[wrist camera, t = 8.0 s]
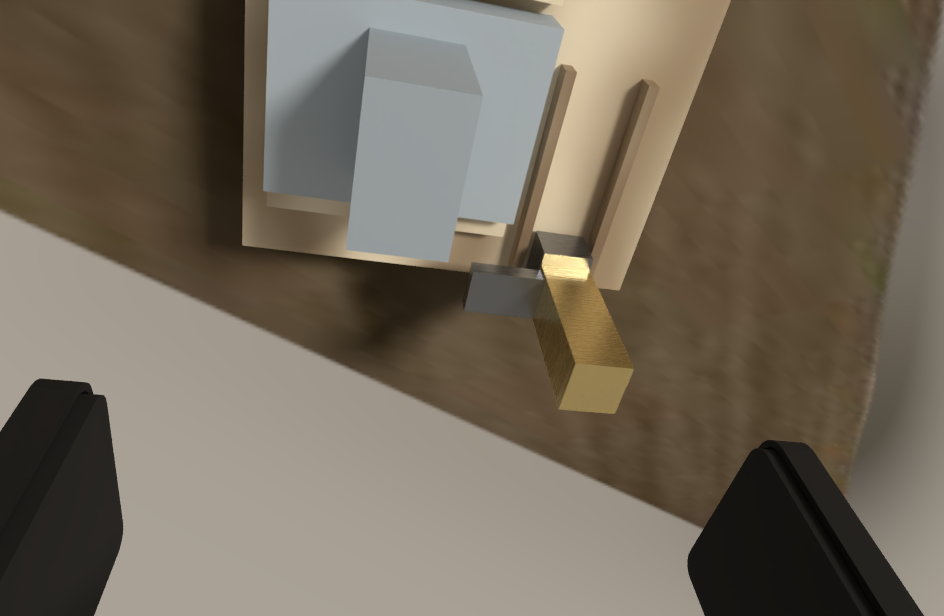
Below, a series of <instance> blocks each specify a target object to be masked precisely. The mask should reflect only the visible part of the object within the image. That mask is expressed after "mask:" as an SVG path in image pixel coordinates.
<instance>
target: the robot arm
mask: <svg viewBox="0 0 944 616" xmlns="http://www.w3.org/2000/svg"><path fill="white" fill-rule="evenodd" d="M122 535H123V520H122V513H121V505H120V497H119V490H118V483H117V475H116V468H115V461H114V453H113V446H112V438H111V430H110V423H109V415H108V408H107V402H106V398H105V397H104V395H94V394H93V392H92V388H91V386H90V384H89V383H85V382H74V381H63V380H50V379H38V380H36V381H35V382H34V383H33V384H32V385H31V386H30V388H29V389H28V391H27V392H26V394H25V395H24V397H23V398H22V400H21V401H20V403H19V404H18V406H17V407H16V409H15V410H14V412H13V413H12V415H11V417H10V418H9V419H8V421H7V422H6V424H5V425H4V427H3V428H2V430H1V431H0V616H94V614H95V612H96V609H97V606H98V604H99V601H100V599H101V596H102V594H103V591H104V588H105V586H106V583H107V580H108V578H109V575H110V573H111V570H112V568H113V565H114V562H115V560H116V557H117V555H118V552H119V549H120V545H121V541H122ZM688 572H689V576H690V579H691V581H692V584H693V587H694V589H695V592H696V594H697V597H698V599H699V602H700V605H701V607H702V610H703V612H704V615H705V616H924V615H923V614H922V612H921V611H920V609H919V608H918V606H917V605H916V603H915V602H914V600H913V599H912V597H911V596H910V594H909V593H908V591H907V590H906V588H905V587H904V585H903V584H902V582H901V581H900V579H899V578H898V576H897V575H896V573H895V572H894V570H893V569H892V568H891V566H890V564H889V563H888V561H887V560H886V559H885V557H884V555H883V554H882V552H881V551H880V550H879V548H878V547H877V545H876V544H875V542H874V541H873V539H872V538H871V536H870V535H869V533H868V532H867V530H866V529H865V527H864V526H863V524H862V523H861V521H860V520H859V518H858V517H857V515H856V514H855V512H854V511H853V509H852V508H851V506H850V505H849V503H848V502H847V500H846V499H845V497H844V496H843V494H842V493H841V491H840V490H839V488H838V487H837V485H836V484H835V482H834V481H833V479H832V478H831V477H830V475H829V474H828V472H827V471H826V469H825V468H824V466H823V465H822V463H821V462H820V460H819V459H818V457H817V456H816V454H815V453H814V451H813V450H812V449H811V448H810V447H809V446H808V445H806V444H804V443H798V442H787V441H775V440H767V441H765V442H763V443H762V444H761V445H760V446H759V447H758V449H757V448H756V449H754V450H752V451H751V452H750V454H749V455H748V457H747V458H746V460H745V462H744V463H743V465H742V467H741V468H740V470H739V472H738V473H737V475H736V477H735V478H734V480H733V481H732V483H731V485H730V486H729V488H728V490H727V491H726V493H725V495H724V496H723V498H722V500H721V501H720V503H719V505H718V506H717V508H716V509H715V511H714V513H713V514H712V516H711V518H710V519H709V521H708V523H707V524H706V526H705V528H704V529H703V531H702V533H701V534H700V536H699V537H698V539H697V541H696V542H695V544H694V546H693V547H692V549H691V551H690V553H689V555H688Z"/></svg>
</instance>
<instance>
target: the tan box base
mask: <svg viewBox="0 0 944 616" xmlns="http://www.w3.org/2000/svg"><path fill="white" fill-rule="evenodd" d="M478 1H483V2H488V3H493V4H498V5H503V6H508V7H513V8H518V9H523V10H528V11H533V12H538V13H543V14H548V15H552V16H553V17H554V18H555V19H556V20H557V21H558V23H559V24H560V25H561V26H562V27H563V28H564V34H563V38H562V42H561V45H560V49H559V53H558V57H557V61H556V64H555V68H554V72H553V76H552V80H551V83H550V87H549V91H548V95H547V99H546V102H545V106H544V110H543V114H542V118H541V121H540V125H539V129H538V133H537V137H536V140H535V144H534V148H533V152H532V156H531V159H530V163H529V167H528V171H527V175H526V178H525V182H524V186H523V190H522V194H521V198H520V201H519V205H518V209H517V213H516V217H515V220H514V224H513V225H512V224H505V223H497V222H490V221H482V220H475V219H468V218H460V217H458V219H457V223H456V228H455V233H454V238H453V242H452V247H451V252H450V257H449V261H448V262H441V261H433V260H425V259H416V258H408V257H400V256H392V255H383V254H375V253H367V252H359V251H350V250H346V242H347V233H348V223H349V214H350V204H351V203H349V202H341V201H334V200H327V199H319V198H312V197H304V196H297V195H290V194H282V193H275V192H267V191H263V179H264V145H265V112H266V79H267V46H268V13H269V0H245V60H244V143H243V227H242V245H243V246H252V247H260V248H268V249H277V250H285V251H294V252H302V253H310V254H319V255H327V256H335V257H344V258H352V259H361V260H369V261H377V262H386V263H394V264H403V265H411V266H419V267H428V268H436V269H445V270H453V271H461V272H469V270H470V266H471V262H477V263H485V264H493V265H501V266H509V267H517V268H526V266H527V262H528V259H529V255H530V252H531V248H532V245H533V241H534V238H535V234H536V231H543V232H550V233H558V234H565V235H573V236H580V237H583V238H584V240H585V242H586V244H587V246H588V249H589V251H590V253H591V255H592V257H593V259H594V260H593V263H592V266H591V268H590V272H591V274H592V276H593V278H594V281H595V283H596V285H597V287H598V288H604V289H613V290H620V287H621V285H622V282H623V279H624V277H625V274H626V272H627V269H628V266H629V264H630V261H631V259H632V256H633V253H634V251H635V248H636V246H637V243H638V240H639V238H640V235H641V233H642V230H643V227H644V225H645V222H646V220H647V217H648V214H649V212H650V209H651V207H652V204H653V201H654V199H655V196H656V194H657V191H658V188H659V186H660V183H661V181H662V178H663V175H664V173H665V170H666V168H667V165H668V162H669V160H670V157H671V155H672V152H673V149H674V147H675V144H676V142H677V139H678V136H679V134H680V131H681V129H682V126H683V123H684V121H685V118H686V116H687V113H688V110H689V108H690V105H691V103H692V100H693V97H694V95H695V92H696V90H697V87H698V84H699V82H700V79H701V77H702V74H703V71H704V69H705V66H706V64H707V61H708V58H709V56H710V53H711V51H712V48H713V45H714V43H715V40H716V38H717V35H718V32H719V30H720V27H721V25H722V22H723V19H724V17H725V14H726V12H727V9H728V6H729V4H730V1H731V0H478Z"/></svg>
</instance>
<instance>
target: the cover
mask: <svg viewBox="0 0 944 616" xmlns="http://www.w3.org/2000/svg"><path fill="white" fill-rule="evenodd" d="M563 34H564V28H563V27H562V26H561V25H560V24H559V23H558V21H557V20H556V19H555V18H554V17H553V16H552V15H548V14H543V13H538V12H533V11H528V10H523V9H518V8H513V7H508V6H503V5H498V4H493V3H488V2H483V1H478V0H269V13H268V46H267V79H266V112H265V145H264V179H263V191H267V192H275V193H282V194H290V195H297V196H304V197H312V198H319V199H327V200H334V201H341V202H349V203H351V204H350V214H349V223H348V233H347V242H346V250H350V251H359V252H367V253H375V254H383V255H392V256H400V257H408V258H416V259H425V260H433V261H441V262H448V261H449V257H450V252H451V247H452V242H453V238H454V233H455V228H456V223H457V219H458V217H460V218H468V219H475V220H482V221H490V222H497V223H505V224H512V225H513V224H514V220H515V217H516V213H517V209H518V205H519V201H520V198H521V194H522V190H523V186H524V182H525V178H526V175H527V171H528V167H529V163H530V159H531V156H532V152H533V148H534V144H535V140H536V137H537V133H538V129H539V125H540V121H541V118H542V114H543V110H544V106H545V102H546V99H547V95H548V91H549V87H550V83H551V80H552V76H553V72H554V68H555V64H556V61H557V57H558V53H559V49H560V45H561V42H562V38H563Z"/></svg>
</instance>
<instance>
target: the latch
mask: <svg viewBox="0 0 944 616" xmlns="http://www.w3.org/2000/svg"><path fill="white" fill-rule="evenodd" d="M593 260H594V259H593V257H592V255H591V253H590V251H589V249H588V246H587V244H586V242H585V240H584V238H583V237H580V236H573V235H565V234H558V233H550V232H543V231H536V234H535V238H534V241H533V245H532V248H531V252H530V255H529V259H528V262H527V266H526V268H517V267H509V266H501V265H493V264H485V263H477V262H471V266H470V270H469V275H468V279H467V283H466V287H465V292H464V296H463V300H462V301H463V308H464V311H468V312H477V313H487V314H496V315H505V316H515V317H524V318H533V322H534V325H535V329H536V332H537V336H538V339H539V343H540V346H541V350H542V353H543V357H544V360H545V363H546V367H547V370H548V374H549V377H550V381H551V384H552V388H553V391H554V395H555V398H556V402H557V405H558V408H559V409H561V410H574V411H586V412H598V413H610V414H615V412H616V410H617V408H618V405H619V403H620V401H621V398H622V396H623V394H624V391H625V389H626V387H627V385H628V382H629V380H630V378H631V375H632V373H633V371H634V367H633V365H632V363H631V361H630V358H629V356H628V354H627V352H626V350H625V347H624V345H623V343H622V341H621V338H620V336H619V334H618V332H617V330H616V327H615V325H614V323H613V321H612V318H611V316H610V314H609V312H608V310H607V307H606V305H605V303H604V301H603V298H602V296H601V294H600V292H599V290H598V287H597V285H596V283H595V281H594V278H593V276H592V274H591V272H590V268H591V266H592V263H593Z"/></svg>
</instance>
